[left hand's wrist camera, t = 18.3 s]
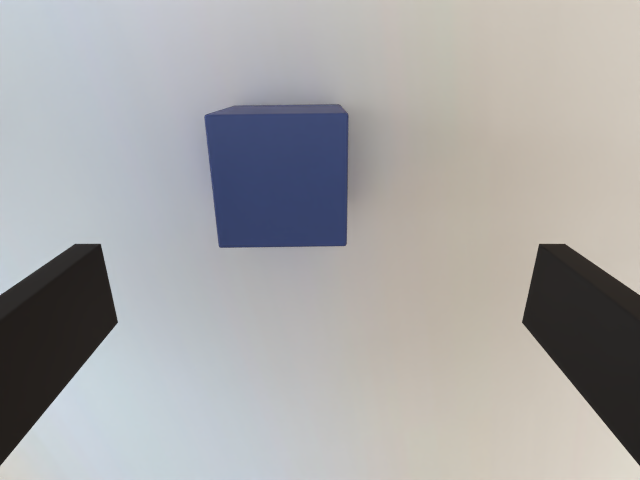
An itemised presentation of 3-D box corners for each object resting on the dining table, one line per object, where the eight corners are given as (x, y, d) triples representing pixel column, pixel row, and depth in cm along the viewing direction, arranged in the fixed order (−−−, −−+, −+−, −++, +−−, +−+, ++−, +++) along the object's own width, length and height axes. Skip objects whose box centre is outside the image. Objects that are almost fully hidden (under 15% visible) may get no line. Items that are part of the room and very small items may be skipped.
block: (340, 104, 18) (348, 112, 13) (339, 207, 20) (346, 246, 15) (232, 105, 18) (203, 114, 13) (241, 208, 20) (218, 248, 15)
